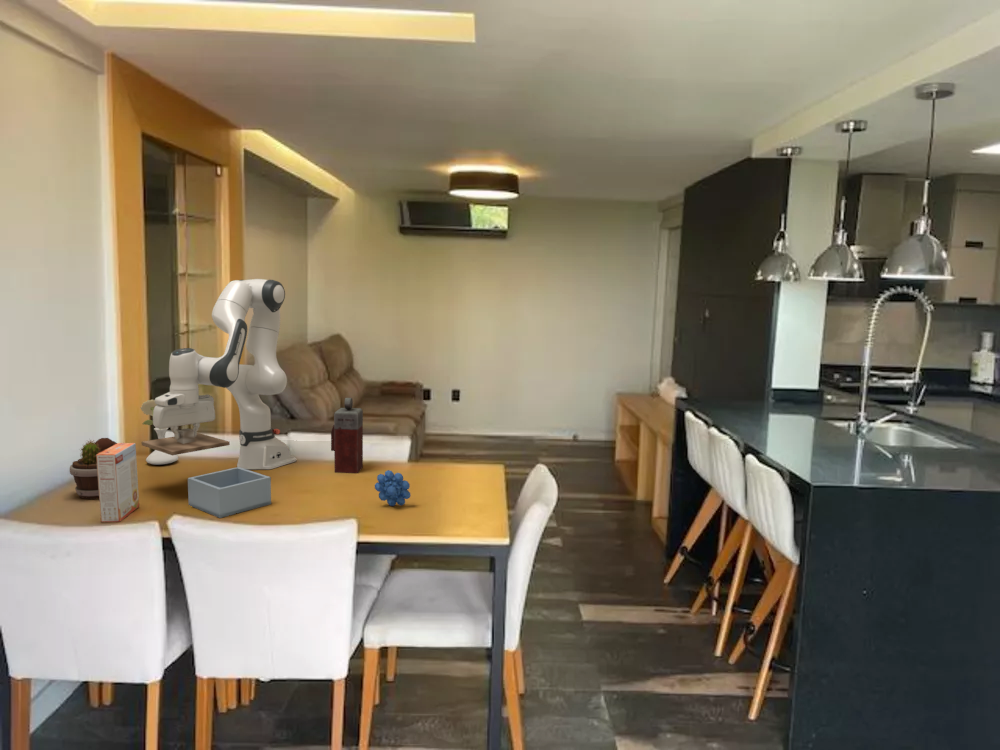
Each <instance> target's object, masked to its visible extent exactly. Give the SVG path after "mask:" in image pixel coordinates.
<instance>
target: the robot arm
mask: <svg viewBox="0 0 1000 750" xmlns="http://www.w3.org/2000/svg"><path fill="white" fill-rule="evenodd" d="M285 299H286V289H285V287H284V286H283V284H282V283H281V282H279V281H278V280H275V279H264V278H254V279H252V278H251V279H239V280H238V279H235V280H232V281H229V282H228V283H227V284H226V285H225V287H224V288H223V290H222V291H221V293H220V295H219V296H218V298H217V299H216V302H215V304H214V305H213V308H212V311H211V318H212V321H213V323H214V325H215V326H216V327H217V328H219V330H221V331H222V332H224V333H226V334H228V337H227V338H228V340H227V343H226V346H225V350H224V353H223V355H221V356H220V357H213V356H212V357H211V356H210V357H209V356H204V355H202V354H199V353H198V352H197V351H196V350H195V349H194V348H192V347H191V348H190V347H183V348H177V349H175V350H173V351H172V352H171V353H170V356H169V363H168V374H169V375H168V376H169V379H170V380H169V381H170V385H169V391H168V392H166V393H163V394H161V395H159V396H157V397H155V399H154V400H155V403H156V404H158V405H157V406H155V408H154V411H153V416H152V421H153V424H152V425H153V426H154V427H155V428H159V429H162V428H168V429H169V428H170V431H172V433H173V434H174V435H173V437H174V438H175V439H181V434H180V433H178V432H177V430H179V427H180V426H187V425H188V426H189V425H192V426H193V428H192V430H194V435H195V436H197V433H198V431H199V429H200V427H201V423H203V424H204V423H208V422H213V421H215V420H216V410H215V406H214V405H215V404H214V403H215V401H214V396H212V395H210V394H203V395H199V394H200V393H199V390H200V389H199V385H205V386H214V387H219V388H225V389H227V390H228V392H230V394H231V396H233V398H234V400H235V402H236V404H237V407H238V412H239V422H240V429H239V432H238V433H239V434H238V435H239V438H238V439H239V444H240V445H239V455H238V460H237V464H236V466H237V467H241V468H244V469H247V470H272V469H277V468H279V467H282V466H285V465H288V464H292V463H295V462H297V458H296V457H295V456H293V455H291V451H290V447H289V446H288V444H286V443H284V442H283V441H282V440H280V439H279V438H277V437H276V435H279V434H280V433H281V430H280V429H279V428H272V426H271V425H272V424H271V423H272V422H271V421H272V420H271V418H272V417H271V416H272V415H271V413H272V412H271V409H270V406H268V405H267V404H266V403H265V402H263V401H262V398H261V397H260V395H262V396H272V395H279V394H282V393H283V392H284V390H285V389H286V388H287V387H286V386H287V384H288V377H287V375H286V374H287V373H285V371H284V370H283V369H282V368H281V366H280V364H279V361H278V359H277V347H278V339H279V335H280V334H279V333H280V329H281V328H280V327H281V310H280V309H281V307H282V305H283V303H284V302H285ZM250 309H252V312H253V314H252V317H251V320H250V323H249V328H248V324H247V323H246V316H247V314H248V312H249V310H250ZM245 347H246V350H247V352H248V353H249V354H251V355H252V356H253V359H254V364H253V365H252V364H241V363H240V362H241V359H242V355H243V351H244V349H245Z"/></svg>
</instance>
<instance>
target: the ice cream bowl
mask: <svg viewBox="0 0 1000 750" xmlns="http://www.w3.org/2000/svg"><path fill="white" fill-rule="evenodd" d="M94 442H95V444H96V445H98V446H97V447H99V449H101V450H100V451H99V450H98V453H99V452H102V451H104V450H106V449H108V448H110V447H111V446H113V445H115V444H117V443H118V442H117V441H114V440H112V439H111V438H109V437H101V438H98V439H97V440H95V441H94ZM97 443H98V444H97Z"/></svg>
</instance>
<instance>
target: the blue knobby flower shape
mask: <svg viewBox="0 0 1000 750" xmlns="http://www.w3.org/2000/svg"><path fill="white" fill-rule="evenodd" d="M376 479H377V481H378V482H376V483H374V489H375V491H377V492H378V499H379V500H381V501H383V502H385V501H386V503H387V504H388V506H390V507H395V506H396V504H397V505H398V506H403V505H405V504H406V500H408V499H411V492H410V491H409V489H410V487H411V486H410V485H411V484H410V483H409V481H407V480H404V475H403V474H402V473H401V472H396V473H394V472H393V471H392V470H390V469H388V470H386V471H384V474H383V473H379V474H378V475H377V477H376Z"/></svg>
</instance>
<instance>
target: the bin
mask: <svg viewBox="0 0 1000 750" xmlns="http://www.w3.org/2000/svg"><path fill="white" fill-rule="evenodd" d="M271 479H272V478H271V476H269V475H265V474H261V473H259V472H256V471H252V470H251V469H244V468H241V467H233V468H231V467H230V468H228V469H223V470H219V471H218V470H217V471H213V472H210V473H204V474H201V475H200V474H199V475H195V476H191V477H188V478H187V492H188V496H187V497H188V506H189V505H190V506H189V507H191V506H192V508H195V509H197V510H199V511H202V512H203V513H207V514H209V515H211V516H214V517H216V518H219V519H222V518H225V517H226V518H227V517H229V515H230V516H233V515H237V514H241V513H244V512H247V511H252V510H255V509H258V508H262V507H266V506H269V505H272V483H271V482H272V480H271ZM236 513H237V514H236Z"/></svg>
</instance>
